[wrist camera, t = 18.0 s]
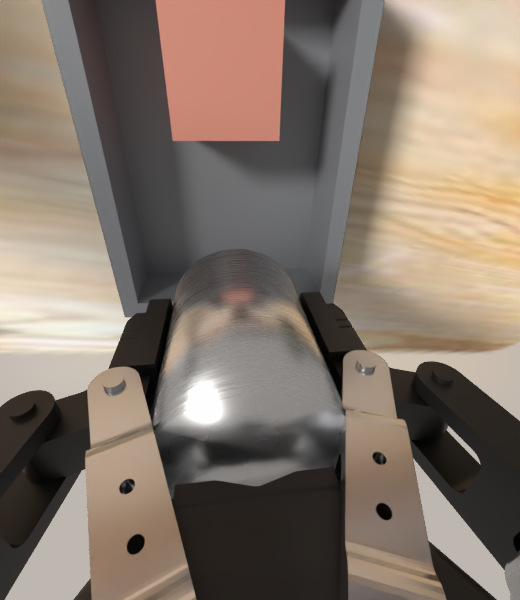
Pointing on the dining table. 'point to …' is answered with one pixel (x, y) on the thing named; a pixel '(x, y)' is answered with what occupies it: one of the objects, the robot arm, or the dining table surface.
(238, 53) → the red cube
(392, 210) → the dining table surface
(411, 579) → the robot arm
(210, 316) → the steel cylinder
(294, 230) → the tote
